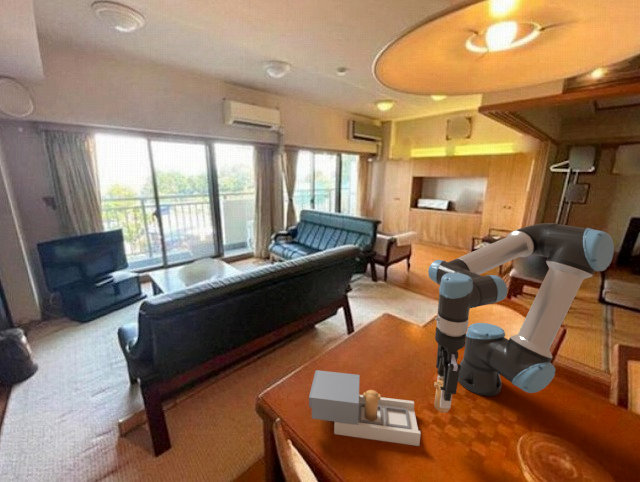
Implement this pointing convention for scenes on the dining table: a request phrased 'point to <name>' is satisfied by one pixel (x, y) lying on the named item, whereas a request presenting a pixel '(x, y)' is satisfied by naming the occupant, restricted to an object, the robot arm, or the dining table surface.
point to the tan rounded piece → (371, 404)
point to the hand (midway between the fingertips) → (442, 400)
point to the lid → (335, 397)
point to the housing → (385, 423)
